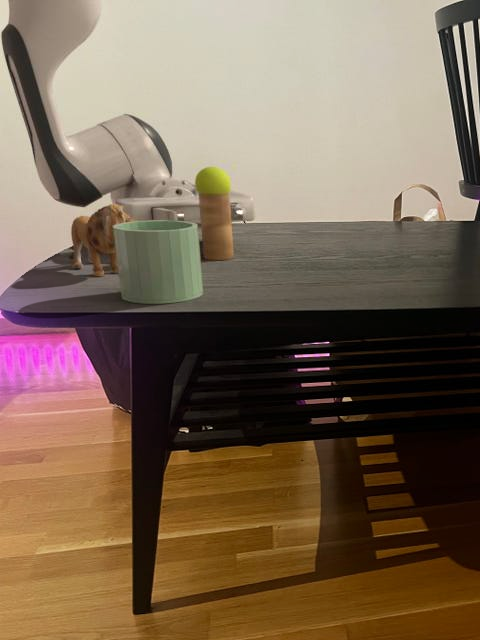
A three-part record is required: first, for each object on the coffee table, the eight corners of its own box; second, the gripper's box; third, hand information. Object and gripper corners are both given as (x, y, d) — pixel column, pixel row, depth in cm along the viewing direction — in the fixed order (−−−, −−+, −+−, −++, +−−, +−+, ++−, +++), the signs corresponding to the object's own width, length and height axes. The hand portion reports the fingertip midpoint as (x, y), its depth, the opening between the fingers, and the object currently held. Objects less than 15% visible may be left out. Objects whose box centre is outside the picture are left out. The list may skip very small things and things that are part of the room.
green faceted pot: (126, 307, 76) (117, 232, 73) (117, 290, 82) (108, 221, 80) (210, 299, 80) (204, 229, 77) (195, 284, 87) (189, 219, 84)
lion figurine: (150, 275, 91) (142, 204, 88) (110, 281, 86) (100, 207, 84) (88, 259, 98) (79, 194, 95) (48, 265, 94) (37, 196, 91)
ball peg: (205, 261, 100) (197, 167, 96) (198, 255, 104) (190, 165, 100) (239, 259, 103) (233, 168, 99) (231, 253, 107) (225, 165, 103)
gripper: (98, 187, 103) (135, 197, 94) (229, 184, 117) (271, 192, 108) (103, 230, 105) (140, 243, 96) (231, 222, 119) (274, 232, 110)
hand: (211, 216), depth 102 cm, fingers open, 8 cm apart
